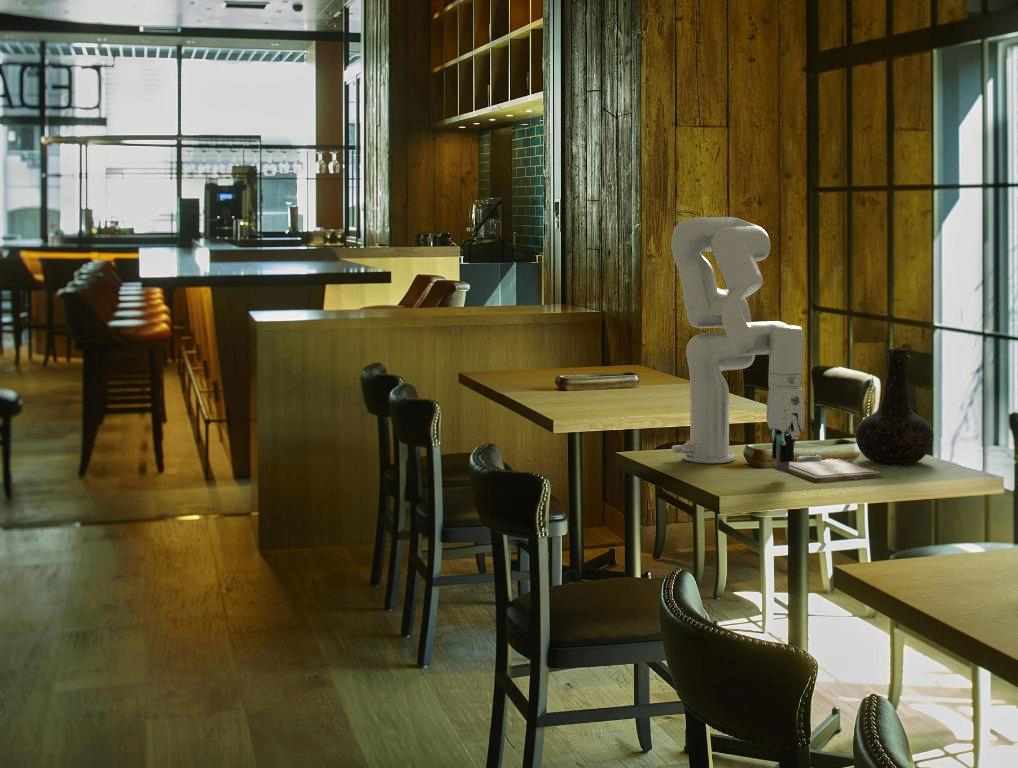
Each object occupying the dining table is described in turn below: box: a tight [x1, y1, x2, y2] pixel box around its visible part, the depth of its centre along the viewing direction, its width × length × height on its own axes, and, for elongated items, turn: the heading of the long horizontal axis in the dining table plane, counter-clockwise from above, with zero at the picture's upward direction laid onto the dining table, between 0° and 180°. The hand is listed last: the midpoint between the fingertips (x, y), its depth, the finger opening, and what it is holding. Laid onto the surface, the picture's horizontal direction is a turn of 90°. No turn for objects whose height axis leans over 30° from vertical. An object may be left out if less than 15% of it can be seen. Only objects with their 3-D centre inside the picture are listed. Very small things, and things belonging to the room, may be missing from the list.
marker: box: [775, 434, 789, 472], centre depth 287 cm, size 3×3×8 cm
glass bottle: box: [855, 347, 934, 466], centre depth 305 cm, size 18×18×28 cm
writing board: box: [786, 454, 883, 483], centre depth 296 cm, size 17×20×2 cm
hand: (782, 459), depth 287 cm, fingers closed on marker, 2 cm apart
